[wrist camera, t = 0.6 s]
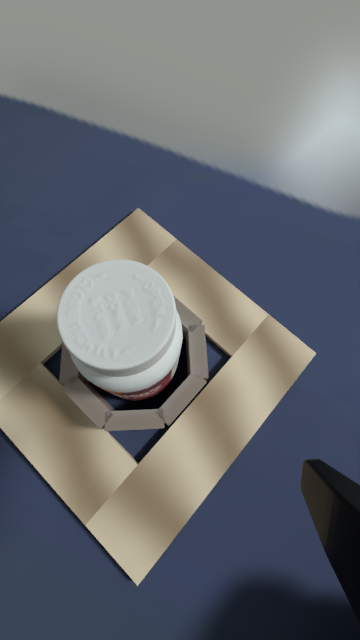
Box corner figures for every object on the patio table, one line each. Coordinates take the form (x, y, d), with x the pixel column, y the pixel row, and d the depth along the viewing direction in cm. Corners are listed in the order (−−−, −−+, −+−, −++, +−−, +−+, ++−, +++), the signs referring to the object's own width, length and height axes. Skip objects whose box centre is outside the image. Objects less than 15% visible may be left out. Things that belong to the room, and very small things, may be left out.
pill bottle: (96, 401, 22) (30, 385, 11) (102, 323, 24) (51, 246, 13) (177, 400, 22) (189, 384, 12) (177, 324, 24) (186, 249, 14)
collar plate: (138, 580, 19) (133, 610, 16) (-48, 367, 22) (-79, 359, 19) (312, 354, 24) (332, 346, 21) (138, 212, 28) (135, 188, 25)
